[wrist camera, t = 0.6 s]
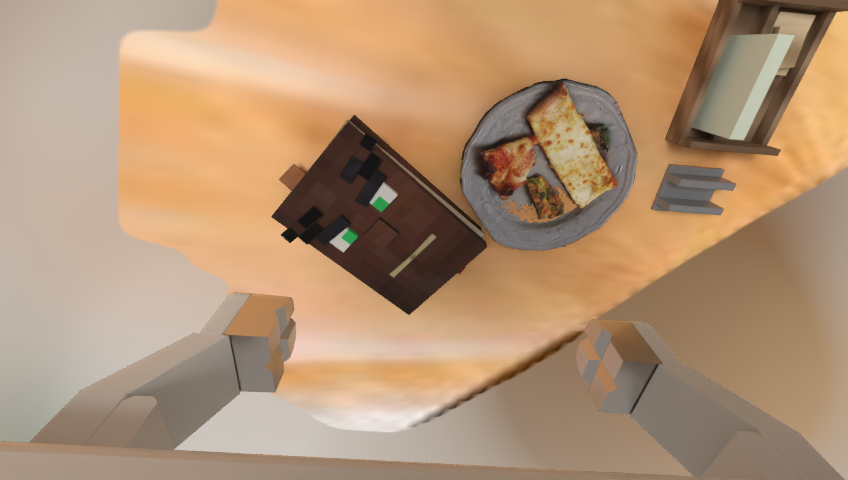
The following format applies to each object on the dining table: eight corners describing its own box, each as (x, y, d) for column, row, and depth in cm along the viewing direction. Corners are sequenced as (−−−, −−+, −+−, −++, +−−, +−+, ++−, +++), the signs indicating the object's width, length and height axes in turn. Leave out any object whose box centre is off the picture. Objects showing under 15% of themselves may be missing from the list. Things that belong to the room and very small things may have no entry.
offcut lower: (771, 12, 44) (780, 11, 43) (806, 16, 44) (816, 15, 43) (744, 71, 47) (752, 72, 46) (777, 75, 47) (785, 75, 46)
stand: (669, 164, 54) (684, 171, 51) (721, 168, 54) (740, 176, 51) (651, 208, 57) (664, 217, 54) (700, 212, 57) (717, 222, 54)
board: (729, 35, 45) (778, 33, 39) (743, 36, 45) (794, 35, 39) (691, 127, 50) (729, 138, 44) (703, 128, 50) (743, 140, 44)
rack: (721, -5, 44) (756, -11, 39) (815, 6, 45) (861, 1, 40) (665, 138, 52) (689, 147, 47) (746, 146, 53) (777, 155, 48)
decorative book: (414, 330, 59) (248, 214, 49) (415, 301, 66) (269, 194, 56) (505, 253, 52) (334, 102, 43) (496, 230, 59) (346, 94, 49)
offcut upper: (773, 26, 44) (780, 26, 43) (802, 25, 44) (810, 24, 43) (759, 68, 46) (765, 69, 45) (786, 67, 46) (794, 67, 45)
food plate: (431, 142, 52) (432, 149, 49) (587, 39, 46) (599, 40, 43) (510, 265, 62) (515, 277, 59) (645, 194, 57) (658, 203, 54)
